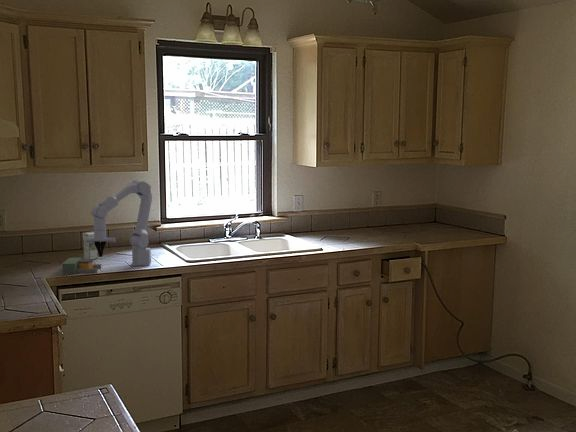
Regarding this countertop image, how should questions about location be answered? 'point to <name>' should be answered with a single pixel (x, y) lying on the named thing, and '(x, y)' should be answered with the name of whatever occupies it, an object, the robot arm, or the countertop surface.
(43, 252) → the countertop surface
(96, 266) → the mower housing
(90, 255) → the syrup box
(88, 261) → the orange-topped grey cube
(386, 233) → the countertop surface
